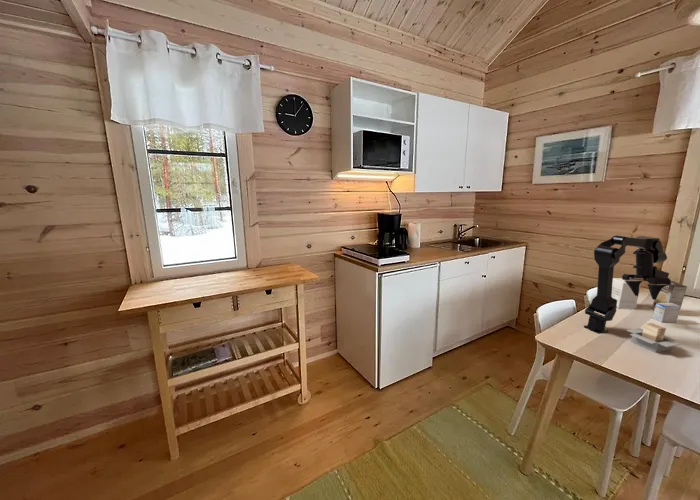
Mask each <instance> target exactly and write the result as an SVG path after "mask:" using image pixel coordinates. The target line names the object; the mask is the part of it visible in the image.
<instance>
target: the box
mask: <svg viewBox="0 0 700 500" xmlns="http://www.w3.org/2000/svg"><path fill="white" fill-rule="evenodd" d="M643 325H644V326H643V333H642V336H643V337H645V338H648V339H650V340H652V341H655V342H663V338H664V335H665V333H666V330H667V327H666V326H663V325H659V324H656V323H654V322H649V323H645V324H643Z"/></svg>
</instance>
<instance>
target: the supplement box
mask: <svg viewBox="0 0 700 500" xmlns="http://www.w3.org/2000/svg"><path fill="white" fill-rule="evenodd" d="M625 281H626V280H622V277H621V278H620V277H618V278H615V277H613V283H612V298H613V299H616V300H617V308H616V309H624V310H625V309H626V310H627V309H629V310H636V307H637V304H638V298H639V295H638V296H635V295H634V293H633V292H632V290H631V288H630V287H629V286H628V284H627V283H626V282H625ZM641 284H642V283H641ZM641 284H640V285H639V291H640V289H641V286H642V285H641Z"/></svg>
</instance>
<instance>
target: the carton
mask: <svg viewBox="0 0 700 500" xmlns="http://www.w3.org/2000/svg"><path fill="white" fill-rule="evenodd" d="M643 329H644V328H643ZM643 329H642V328H639V327H638V328H634V329H627V330H626V331H627V332H630V334H629V336H631V340H630V342H631V343H633V344H635V345H638V346H640V347H642V348H645V349H646V350H649V351H652V352H654V353H659V352H666V351H670V350H672V347H675V346H681V344H680V343H677V342H676V339H675V338H672V337H671V336H670V337H669V336H667V335H665V334H664V338H663V342H655V341H652V340H650V339H648V338H645V337H643V336H642V333H643Z"/></svg>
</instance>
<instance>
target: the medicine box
mask: <svg viewBox="0 0 700 500" xmlns="http://www.w3.org/2000/svg"><path fill="white" fill-rule="evenodd" d="M681 307H682V305H681V306H679V305H676V304H673V303H656V307H655V308H654V312H653V316H652V319H653V320H655V321H658V322H660V323H677V321H678V317H679V315H680V312H681V309H682V308H681ZM680 308H681V309H680Z"/></svg>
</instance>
